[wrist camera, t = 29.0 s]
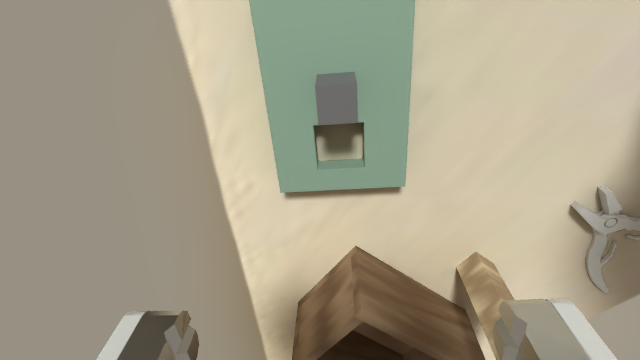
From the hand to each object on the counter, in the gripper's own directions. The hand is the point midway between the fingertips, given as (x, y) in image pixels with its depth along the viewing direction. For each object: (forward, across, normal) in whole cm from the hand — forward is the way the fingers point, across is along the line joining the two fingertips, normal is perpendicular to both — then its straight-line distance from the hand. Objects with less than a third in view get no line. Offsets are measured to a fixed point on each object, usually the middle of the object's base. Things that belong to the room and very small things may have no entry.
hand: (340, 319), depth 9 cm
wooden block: (+24, -15, +22) cm, 36 cm away
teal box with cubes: (+23, 0, 0) cm, 23 cm away
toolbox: (+24, -4, +29) cm, 38 cm away
